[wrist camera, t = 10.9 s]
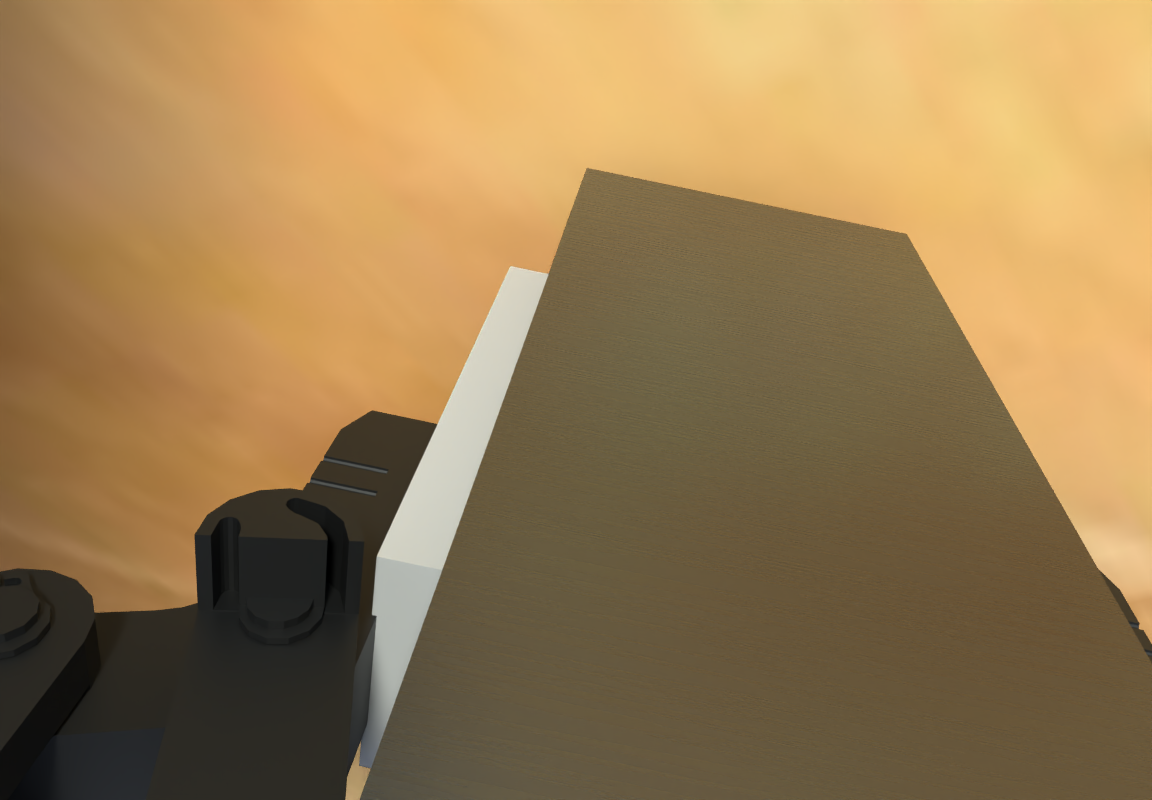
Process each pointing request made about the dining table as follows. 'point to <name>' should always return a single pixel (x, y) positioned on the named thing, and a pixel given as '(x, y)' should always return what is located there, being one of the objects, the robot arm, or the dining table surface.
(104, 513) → the dining table surface
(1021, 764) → the grey block with bar
